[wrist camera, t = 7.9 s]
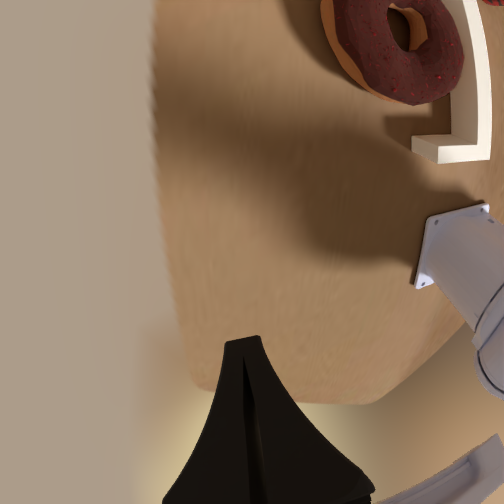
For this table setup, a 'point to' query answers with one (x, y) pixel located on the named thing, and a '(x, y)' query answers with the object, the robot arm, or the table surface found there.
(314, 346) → the table surface
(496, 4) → the deodorant
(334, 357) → the table surface
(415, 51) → the donut
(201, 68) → the table surface
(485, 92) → the stop
